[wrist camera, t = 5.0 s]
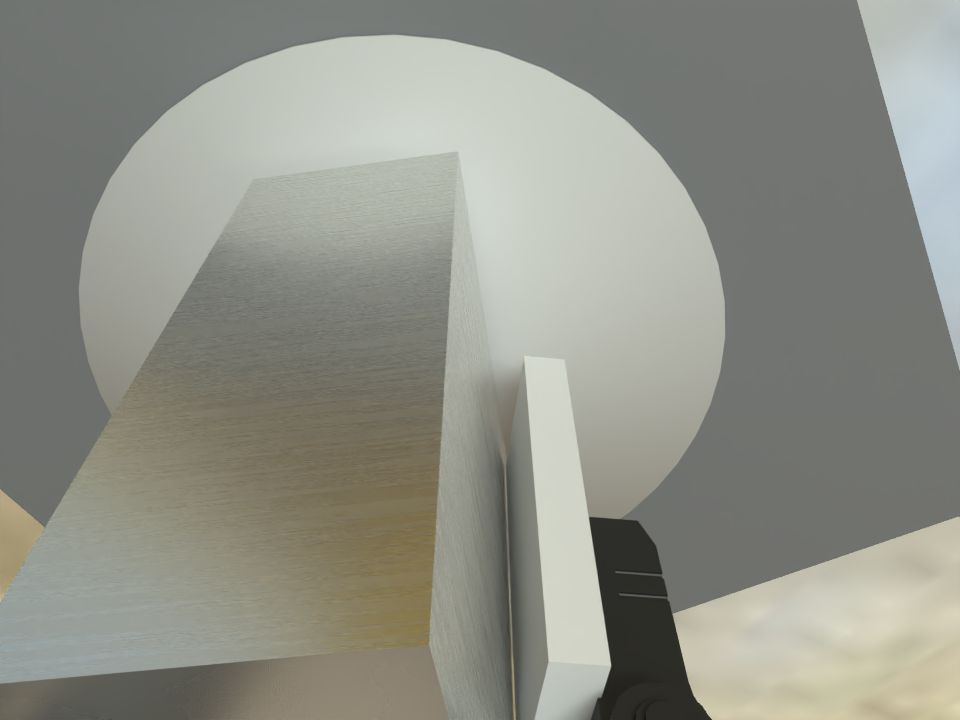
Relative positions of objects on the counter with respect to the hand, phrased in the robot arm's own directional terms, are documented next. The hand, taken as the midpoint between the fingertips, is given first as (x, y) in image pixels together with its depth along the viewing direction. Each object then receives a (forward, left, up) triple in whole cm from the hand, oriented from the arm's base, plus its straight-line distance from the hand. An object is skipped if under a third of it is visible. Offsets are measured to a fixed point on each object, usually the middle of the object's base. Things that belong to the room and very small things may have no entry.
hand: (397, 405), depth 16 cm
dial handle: (0, 0, -1) cm, 1 cm away
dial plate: (0, 0, -4) cm, 4 cm away
